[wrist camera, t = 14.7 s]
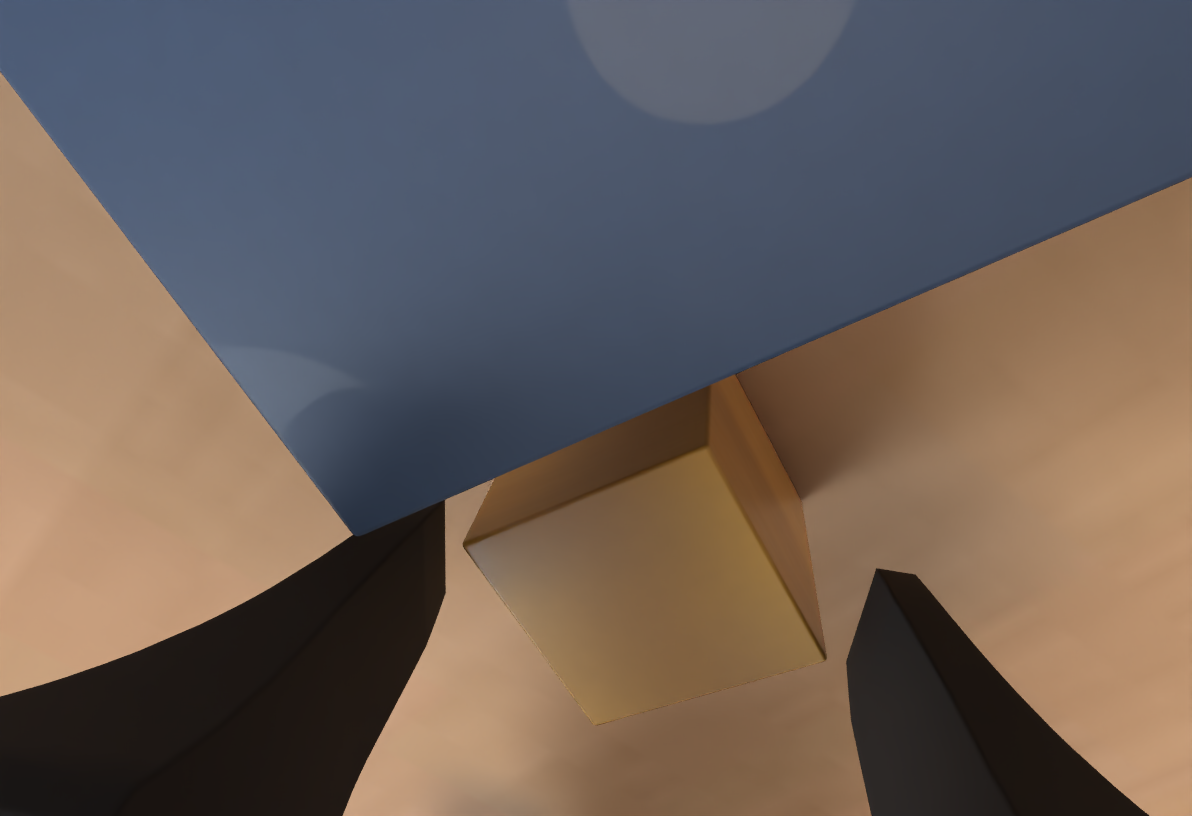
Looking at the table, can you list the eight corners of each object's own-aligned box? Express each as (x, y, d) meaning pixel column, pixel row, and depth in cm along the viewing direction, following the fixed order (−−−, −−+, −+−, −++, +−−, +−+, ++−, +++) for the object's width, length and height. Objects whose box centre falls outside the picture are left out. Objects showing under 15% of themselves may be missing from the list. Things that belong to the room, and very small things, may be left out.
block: (623, 566, 18) (593, 728, 14) (525, 414, 16) (459, 545, 12) (802, 502, 16) (829, 662, 12) (712, 329, 15) (708, 445, 11)
